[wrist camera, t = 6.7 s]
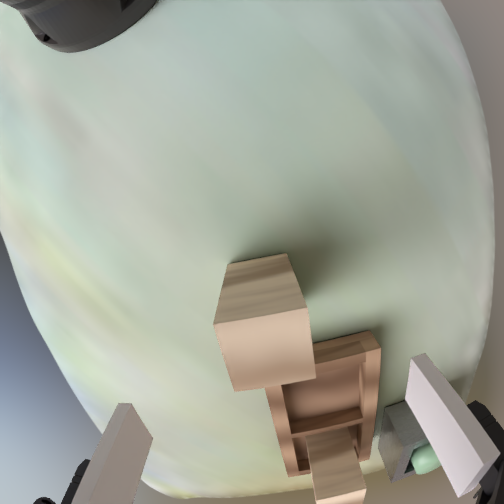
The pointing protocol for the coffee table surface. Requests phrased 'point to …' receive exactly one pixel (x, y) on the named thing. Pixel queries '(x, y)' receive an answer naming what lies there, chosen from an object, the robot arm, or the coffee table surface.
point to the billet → (264, 325)
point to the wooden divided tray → (329, 399)
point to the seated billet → (335, 468)
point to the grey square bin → (400, 440)
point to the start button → (424, 459)
